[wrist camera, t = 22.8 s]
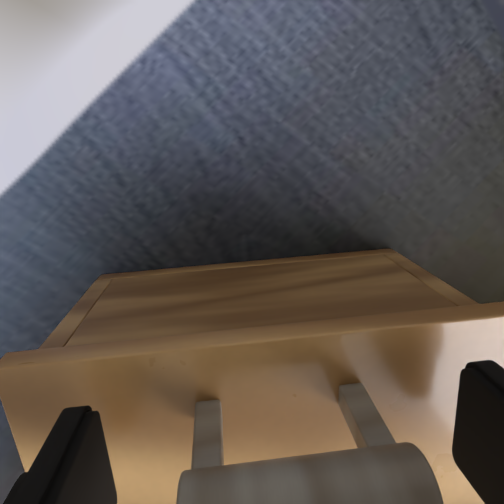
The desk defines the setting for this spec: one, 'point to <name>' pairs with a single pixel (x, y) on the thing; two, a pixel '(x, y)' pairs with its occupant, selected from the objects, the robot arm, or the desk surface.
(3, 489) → the desk surface
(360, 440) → the lid
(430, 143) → the desk surface
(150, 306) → the box
